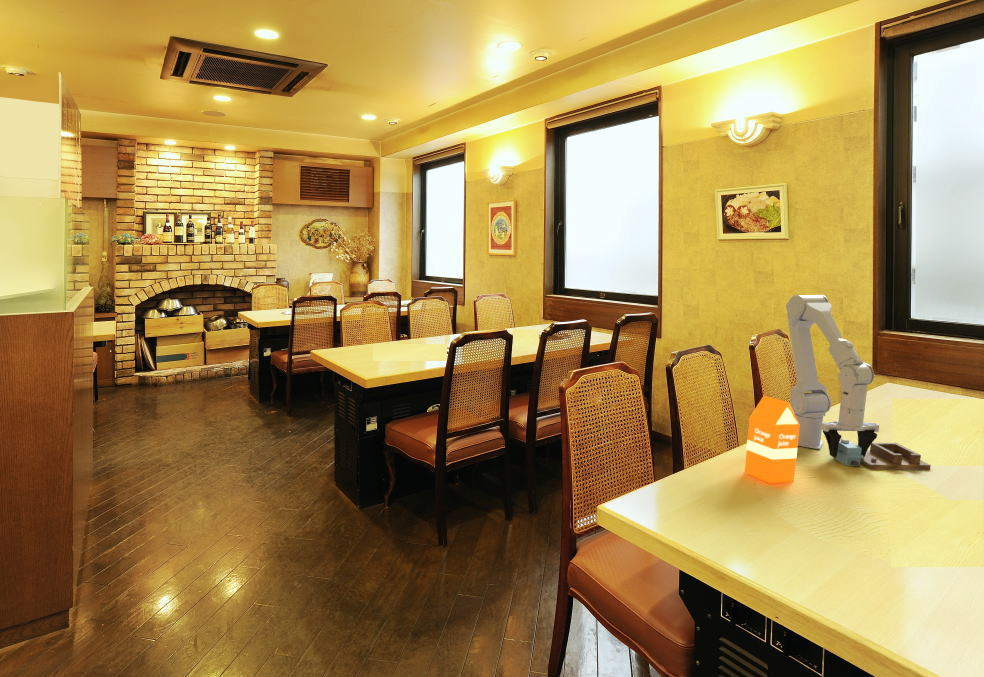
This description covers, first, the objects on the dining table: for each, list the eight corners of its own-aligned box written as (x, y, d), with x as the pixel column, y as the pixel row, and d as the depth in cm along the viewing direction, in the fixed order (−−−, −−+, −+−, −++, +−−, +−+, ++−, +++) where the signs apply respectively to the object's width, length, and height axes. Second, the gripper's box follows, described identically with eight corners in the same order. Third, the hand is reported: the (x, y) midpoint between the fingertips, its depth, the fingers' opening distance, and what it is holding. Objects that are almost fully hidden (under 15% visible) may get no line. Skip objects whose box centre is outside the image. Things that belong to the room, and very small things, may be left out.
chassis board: (869, 468, 158) (871, 455, 158) (845, 454, 169) (846, 441, 168) (930, 469, 158) (931, 456, 158) (901, 454, 169) (903, 442, 169)
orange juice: (767, 470, 157) (775, 395, 156) (794, 481, 149) (802, 402, 147) (743, 472, 155) (750, 395, 153) (769, 483, 147) (777, 403, 145)
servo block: (862, 467, 159) (865, 447, 158) (849, 467, 159) (851, 447, 158) (843, 456, 168) (845, 436, 167) (830, 456, 168) (832, 436, 167)
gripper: (833, 412, 157) (828, 461, 159) (888, 412, 157) (882, 461, 159) (819, 404, 164) (814, 452, 166) (871, 405, 164) (866, 452, 166)
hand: (846, 456), depth 163 cm, fingers open, 7 cm apart
